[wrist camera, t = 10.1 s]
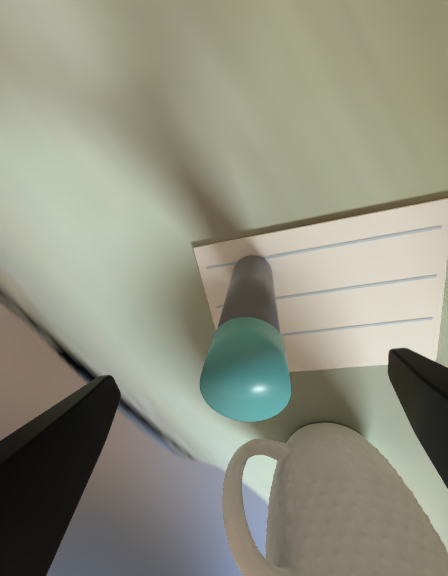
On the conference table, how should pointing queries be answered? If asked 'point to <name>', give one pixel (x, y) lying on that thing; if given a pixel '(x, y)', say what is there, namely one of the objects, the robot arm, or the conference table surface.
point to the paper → (347, 284)
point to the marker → (247, 349)
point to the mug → (331, 511)
